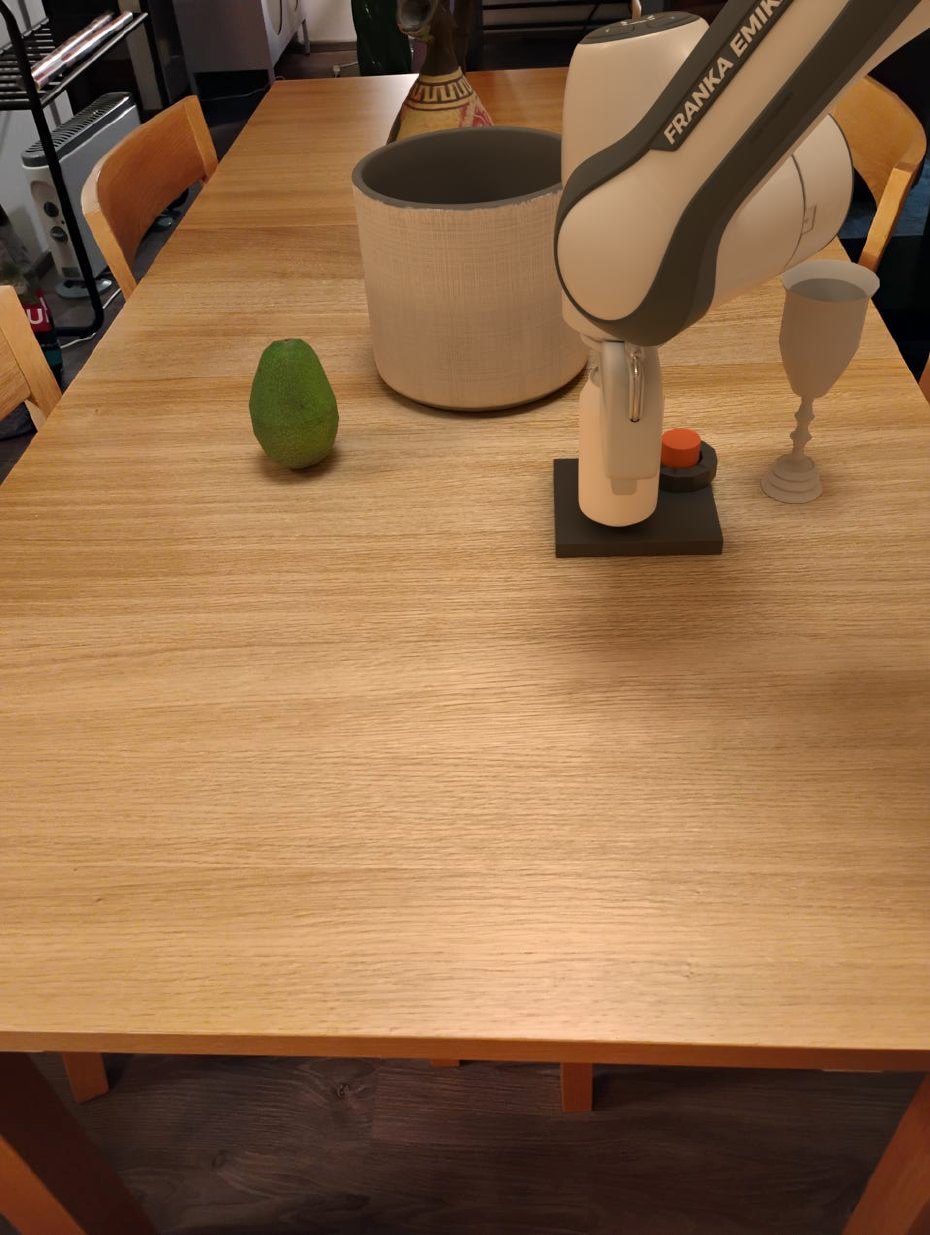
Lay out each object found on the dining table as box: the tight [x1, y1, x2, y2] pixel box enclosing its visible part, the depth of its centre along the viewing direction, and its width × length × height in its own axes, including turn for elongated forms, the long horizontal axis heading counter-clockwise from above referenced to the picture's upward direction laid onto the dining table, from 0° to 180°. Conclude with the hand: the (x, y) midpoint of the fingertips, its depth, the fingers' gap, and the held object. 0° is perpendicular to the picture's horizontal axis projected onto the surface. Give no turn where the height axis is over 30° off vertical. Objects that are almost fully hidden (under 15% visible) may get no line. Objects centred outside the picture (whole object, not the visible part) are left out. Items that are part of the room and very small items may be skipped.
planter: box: [350, 125, 591, 413], centre depth 96 cm, size 22×22×20 cm
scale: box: [552, 439, 725, 558], centre depth 82 cm, size 14×12×3 cm
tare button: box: [660, 428, 702, 469], centre depth 83 cm, size 3×3×2 cm
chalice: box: [760, 258, 880, 504], centre depth 78 cm, size 7×7×18 cm
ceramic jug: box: [385, 0, 495, 145], centre depth 117 cm, size 17×15×30 cm
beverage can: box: [578, 366, 666, 527], centre depth 76 cm, size 6×6×12 cm
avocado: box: [248, 338, 340, 470], centre depth 88 cm, size 8×8×12 cm
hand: (619, 461), depth 77 cm, fingers closed on beverage can, 6 cm apart
